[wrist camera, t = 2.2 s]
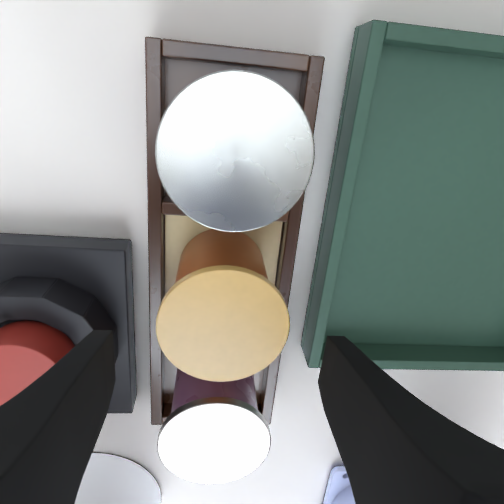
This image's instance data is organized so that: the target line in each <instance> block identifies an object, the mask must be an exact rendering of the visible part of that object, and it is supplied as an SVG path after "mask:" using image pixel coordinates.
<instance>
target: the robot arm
mask: <svg viewBox="0 0 504 504" xmlns="http://www.w3.org/2000/svg"><path fill="white" fill-rule="evenodd" d="M115 381H116V377H115V361H114V345H113V330H93V331H91V332H90V333H89V334H88V335H87V336H86V337H85V338H83V339H82V340H81V341H80V342H79V343H78V344H77V345H76V346H75V347H74V348H73V349H71V350H70V351H69V352H68V353H67V354H66V355H65V356H64V357H63V358H61V359H60V360H59V361H58V362H57V363H56V364H54V365H53V366H52V367H51V368H50V369H49V370H48V371H46V372H45V373H44V374H43V375H41V376H40V377H39V378H38V379H36V380H35V381H34V382H33V383H31V384H30V385H29V386H28V387H26V388H25V389H24V390H22V391H21V392H20V393H18V394H17V395H16V396H14V397H13V398H11V399H10V400H8V401H7V402H5V403H4V404H2V405H1V406H0V504H75V500H76V497H77V493H78V490H79V487H80V484H81V481H82V478H83V475H84V473H85V470H86V467H87V465H88V462H89V460H90V457H91V454H92V452H93V449H94V447H95V444H96V441H97V439H98V436H99V434H100V431H101V428H102V426H103V423H104V420H105V418H106V415H107V412H108V409H109V406H110V402H111V398H112V394H113V389H114V385H115ZM318 384H319V389H320V394H321V399H322V403H323V407H324V411H325V414H326V417H327V419H328V422H329V425H330V428H331V431H332V433H333V436H334V439H335V442H336V444H337V447H338V450H339V453H340V455H341V458H342V461H343V464H344V466H336V467H334V468H333V469H332V470H331V473H330V477H329V481H328V485H327V489H326V493H325V497H324V501H323V504H504V450H503V449H501V448H499V447H497V446H495V445H493V444H491V443H489V442H487V441H486V440H484V439H482V438H480V437H478V436H476V435H474V434H473V433H471V432H469V431H468V430H466V429H464V428H462V427H461V426H459V425H457V424H456V423H454V422H452V421H451V420H449V419H447V418H446V417H444V416H443V415H441V414H440V413H438V412H437V411H435V410H434V409H432V408H431V407H429V406H428V405H426V404H425V403H424V402H422V401H421V400H419V399H418V398H417V397H415V396H414V395H413V394H411V393H410V392H409V391H407V390H406V389H405V388H404V387H402V386H401V385H400V384H399V383H397V382H396V381H395V380H394V379H392V378H391V377H390V376H389V375H388V374H387V373H385V372H384V371H383V370H382V369H381V368H380V367H379V366H377V365H376V364H375V363H374V362H373V361H372V360H371V359H370V358H369V357H367V356H366V355H365V354H364V353H363V352H362V351H361V350H360V349H359V348H358V347H357V346H355V345H354V344H353V343H352V342H351V341H350V340H349V339H347V338H346V337H345V336H327V340H326V345H325V350H324V355H323V360H322V365H321V370H320V375H319V379H318Z"/></svg>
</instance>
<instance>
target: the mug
mask: <svg viewBox="0 0 504 504" xmlns="http://www.w3.org/2000/svg"><path fill="white" fill-rule="evenodd" d="M75 504H161V492H160V488H159V486H158V483H157V482H156V480H155V479H154V477H153V476H152V475H151V474H150V473H149V472H148V471H147V470H146V469H144V468H143V467H142V466H140V465H138V464H137V463H135V462H133V461H131V460H128V459H125V458H122V457H119V456H115V455H110V454H101V453H92V454H91V457H90V460H89V462H88V465H87V467H86V470H85V473H84V475H83V478H82V481H81V484H80V487H79V490H78V493H77V497H76V500H75Z"/></svg>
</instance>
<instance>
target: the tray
mask: <svg viewBox="0 0 504 504" xmlns="http://www.w3.org/2000/svg"><path fill="white" fill-rule="evenodd" d="M327 336H345V337H346V338H347V339H349V340H350V341H351V342H352V343H353V344H354V345H355V346H357V347H358V348H359V349H360V350H361V351H362V352H363V353H364V354H365V355H366V356H367V357H369V358H370V359H371V360H372V361H373V362H374V363H375V364H376V365H377V366H379V367H380V368H381V369H417V370H482V371H504V36H500V35H492V34H484V33H476V32H468V31H460V30H452V29H444V28H436V27H428V26H420V25H412V24H404V23H396V22H386V21H380V20H372V21H370V22H367V23H365V24H363V25H360V26H357V27H356V28H355V33H354V39H353V45H352V51H351V56H350V62H349V68H348V74H347V80H346V85H345V91H344V97H343V103H342V109H341V114H340V120H339V126H338V132H337V138H336V144H335V149H334V155H333V161H332V167H331V173H330V178H329V184H328V190H327V196H326V202H325V208H324V213H323V219H322V225H321V231H320V237H319V242H318V248H317V254H316V260H315V266H314V272H313V277H312V283H311V289H310V295H309V301H308V306H307V312H306V318H305V324H304V330H303V336H302V341H301V347H302V350H303V353H304V356H305V359H306V362H307V365H308V367H309V368H318V367H319V368H321V365H322V360H323V355H324V350H325V345H326V340H327Z"/></svg>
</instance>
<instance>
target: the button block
mask: <svg viewBox="0 0 504 504" xmlns="http://www.w3.org/2000/svg"><path fill="white" fill-rule="evenodd" d="M18 321H36V322H41V323H44V324H47V325H49V326H51V327H53V328H56V329H58V330H60V331H61V332H63V333H64V334H65V335H66V336H67V337H68V338H69V339H70V340H71V341H72V342H73V344H74V346H76V345H77V344H78V343H79V342H80V341H81V340H82V339H83V338H85V337H86V336H87V335H88V334H89V333H90V332H91V331H93V330H113V345H114V361H115V377H116V381H115V385H114V389H113V394H112V398H111V402H110V406H109V409H108V412H107V413H132V411H133V407H134V403H135V399H136V367H135V339H134V310H133V281H132V253H131V240H122V239H103V238H83V237H64V236H45V235H26V234H6V233H0V328H1V327H3V326H5V325H7V324H10V323H13V322H18Z"/></svg>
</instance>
